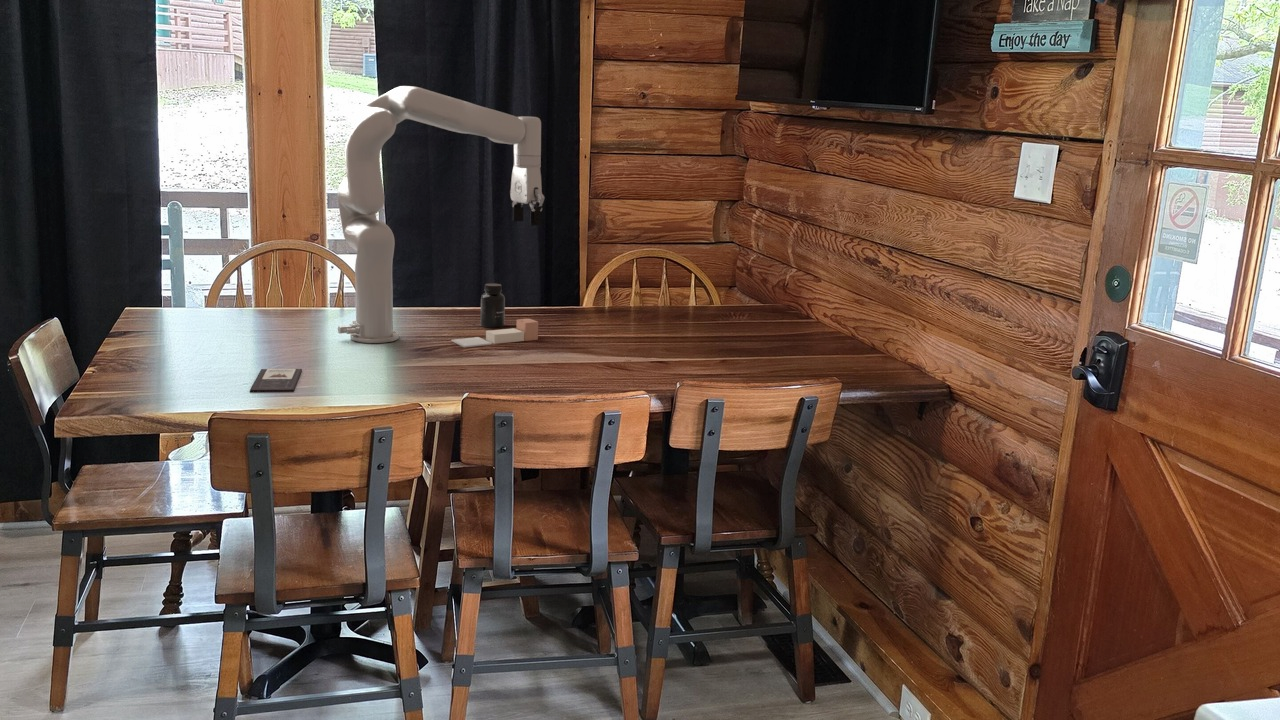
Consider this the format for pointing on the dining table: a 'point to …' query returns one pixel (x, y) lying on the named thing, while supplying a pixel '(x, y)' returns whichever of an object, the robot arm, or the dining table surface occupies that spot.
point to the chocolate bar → (276, 380)
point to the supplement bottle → (492, 306)
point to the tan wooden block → (528, 328)
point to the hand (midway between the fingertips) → (526, 223)
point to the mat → (471, 342)
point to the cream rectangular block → (505, 335)
